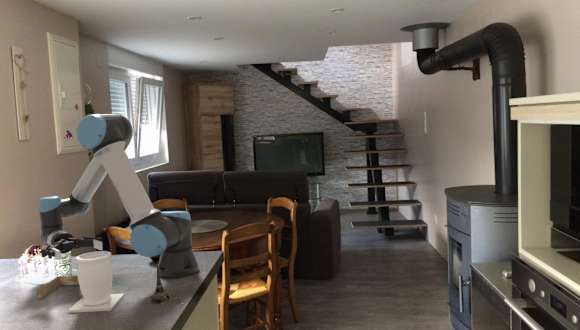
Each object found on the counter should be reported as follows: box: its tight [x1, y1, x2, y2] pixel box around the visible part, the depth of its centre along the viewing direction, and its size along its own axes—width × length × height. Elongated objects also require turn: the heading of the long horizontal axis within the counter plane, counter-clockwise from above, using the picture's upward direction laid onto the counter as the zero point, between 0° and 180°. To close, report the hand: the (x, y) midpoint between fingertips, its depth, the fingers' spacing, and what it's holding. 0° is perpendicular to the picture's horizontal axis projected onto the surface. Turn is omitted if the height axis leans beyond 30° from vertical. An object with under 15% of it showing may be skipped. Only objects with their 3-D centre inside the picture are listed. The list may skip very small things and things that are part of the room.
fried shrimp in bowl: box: [149, 254, 161, 264], centre depth 212 cm, size 9×11×18 cm
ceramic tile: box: [67, 293, 125, 314], centre depth 162 cm, size 13×13×1 cm
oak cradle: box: [36, 275, 84, 300], centre depth 176 cm, size 15×15×3 cm
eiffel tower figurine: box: [140, 262, 185, 305], centre depth 161 cm, size 15×10×13 cm
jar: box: [75, 250, 114, 306], centre depth 161 cm, size 11×10×15 cm
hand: (80, 250), depth 169 cm, fingers open, 13 cm apart
